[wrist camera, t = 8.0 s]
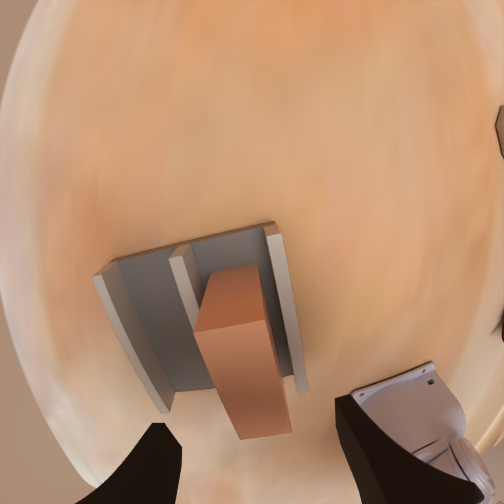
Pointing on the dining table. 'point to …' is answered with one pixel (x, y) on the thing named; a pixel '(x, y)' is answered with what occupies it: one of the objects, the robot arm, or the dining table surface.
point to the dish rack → (193, 306)
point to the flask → (501, 128)
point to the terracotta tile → (243, 352)
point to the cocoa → (503, 333)
